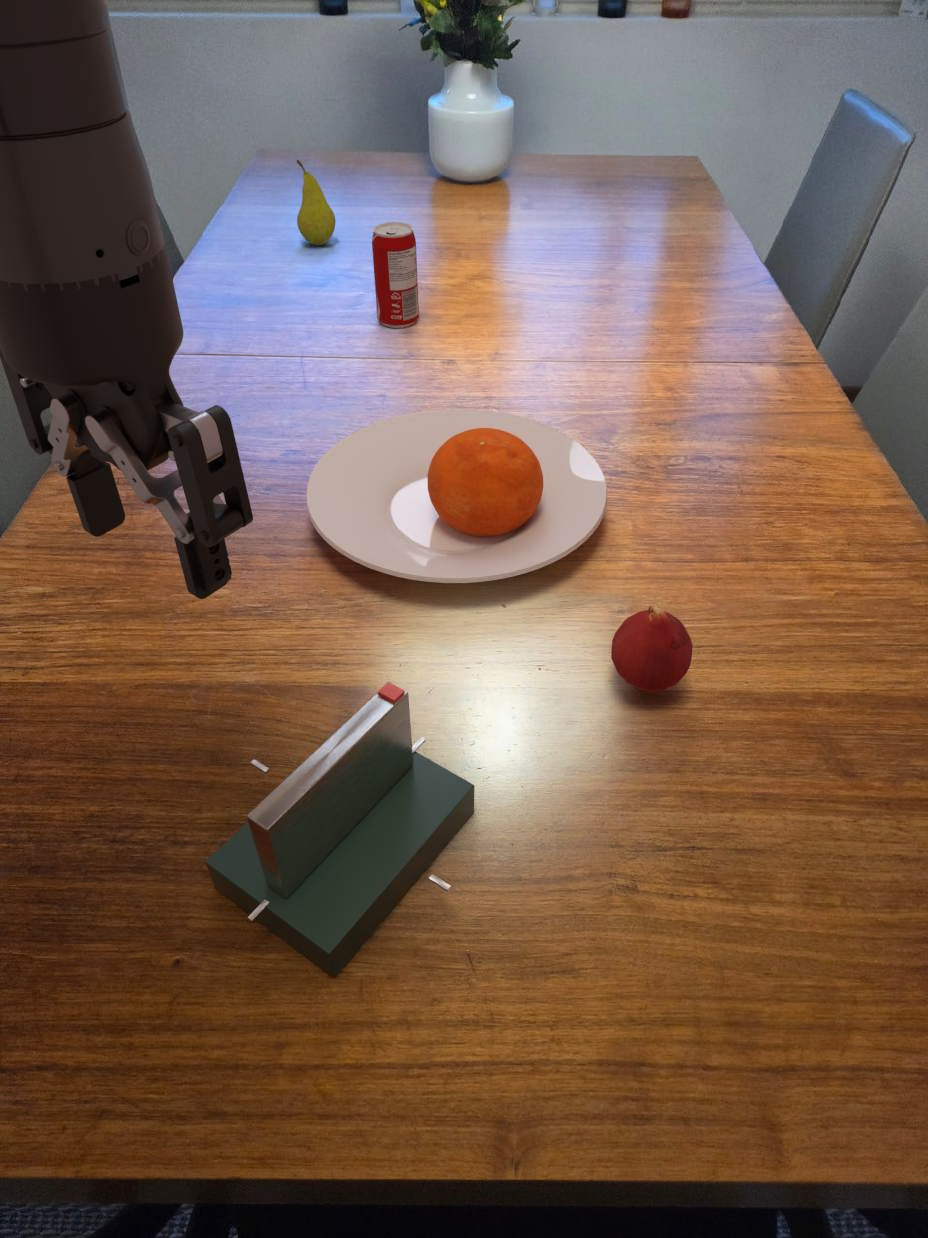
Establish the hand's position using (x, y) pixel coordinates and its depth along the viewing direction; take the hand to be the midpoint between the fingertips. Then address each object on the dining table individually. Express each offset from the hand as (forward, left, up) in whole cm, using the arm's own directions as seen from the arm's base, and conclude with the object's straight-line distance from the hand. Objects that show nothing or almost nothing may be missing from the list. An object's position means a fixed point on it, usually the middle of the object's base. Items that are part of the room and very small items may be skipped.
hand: (157, 557), depth 46 cm
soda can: (+66, +38, -21) cm, 79 cm away
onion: (+25, -19, -21) cm, 38 cm away
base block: (+1, -10, -20) cm, 23 cm away
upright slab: (+1, -10, -17) cm, 20 cm away
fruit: (+81, +66, -21) cm, 107 cm away
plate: (+35, +6, -20) cm, 41 cm away
